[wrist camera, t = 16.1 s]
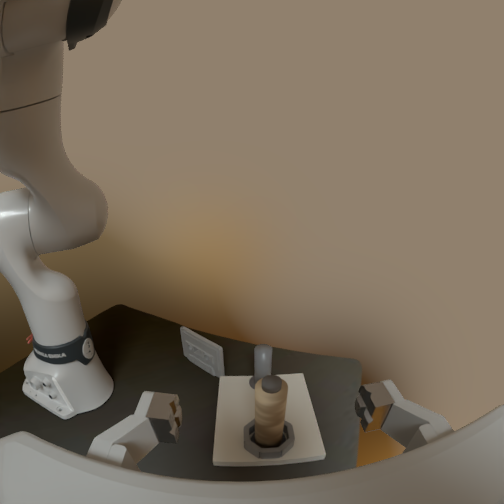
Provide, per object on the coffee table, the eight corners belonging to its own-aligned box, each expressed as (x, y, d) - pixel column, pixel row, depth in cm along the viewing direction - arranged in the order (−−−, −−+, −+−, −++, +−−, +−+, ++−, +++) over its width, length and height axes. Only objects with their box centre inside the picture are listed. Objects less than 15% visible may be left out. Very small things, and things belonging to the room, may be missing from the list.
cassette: (226, 376, 50) (224, 346, 48) (220, 380, 49) (217, 350, 47) (188, 353, 58) (184, 324, 56) (182, 356, 56) (177, 327, 54)
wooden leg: (255, 450, 31) (255, 393, 28) (254, 430, 35) (254, 371, 31) (283, 449, 31) (290, 391, 28) (280, 429, 35) (286, 369, 32)
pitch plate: (213, 465, 29) (205, 431, 27) (220, 379, 49) (217, 341, 47) (324, 459, 30) (337, 423, 27) (301, 377, 50) (306, 338, 47)
